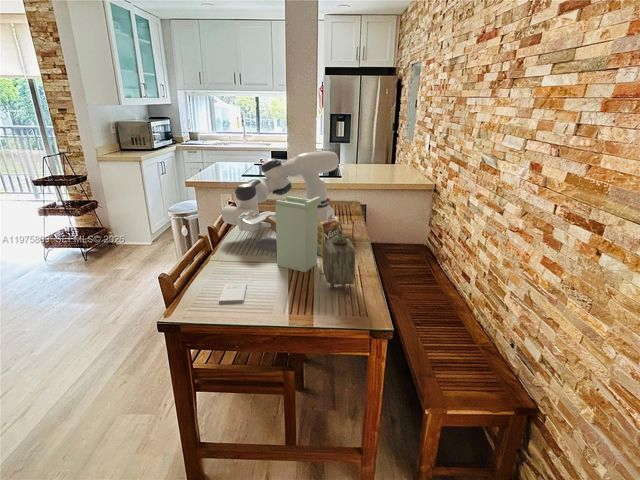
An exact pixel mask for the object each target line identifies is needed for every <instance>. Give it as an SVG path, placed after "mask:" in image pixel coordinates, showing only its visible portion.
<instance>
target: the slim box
mask: <svg viewBox="0 0 640 480" xmlns="http://www.w3.org/2000/svg"><path fill="white" fill-rule="evenodd" d="M264 222H265V223H269V222H270V223H272V225H273V226H272V227H268V228H269V229H270V230H272V231H273V232H274V233H276V217H275V216H273V215H272V214H271V215H269V216H267V217H266V219H265V221H264Z"/></svg>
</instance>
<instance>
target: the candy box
mask: <svg viewBox="0 0 640 480" xmlns="http://www.w3.org/2000/svg"><path fill="white" fill-rule="evenodd" d="M338 222H340V221H339V219H338V220H337V219H334V218H333V219H328V220H323V221H318V228H317V255H319V256H320V257H323V242H324V241H326V240H328V239H333V238H334V236H335V235H338V229H337V224H338Z"/></svg>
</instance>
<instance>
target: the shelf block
mask: <svg viewBox="0 0 640 480" xmlns="http://www.w3.org/2000/svg"><path fill="white" fill-rule="evenodd" d="M285 199H286V200H279V199H276V200H275V209H274V210H275V211H274V212H276V232H275V233H276V237H275V238H276V239H277V252H276V260H277V264H276V265H277V266H278V267H283V268H287V269H290V270H294V271H299V272H302V273H307V272H308V271H309V270H311V269H312V268H313V267H315V266H317V264H318V253H317V234H318V228H317V206H318V205H320V204H321V197H318V196H317V197H315V198H313V199H311V200H310V199H306V198H301V197H296V196H290V195H289V196H288V195H287V196H285Z"/></svg>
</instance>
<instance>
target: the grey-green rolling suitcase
mask: <svg viewBox="0 0 640 480" xmlns="http://www.w3.org/2000/svg"><path fill="white" fill-rule="evenodd" d="M339 228H340V229H339ZM337 229H338V235H335V236H334V238H333V239H328V240H326V241H324V242H323V256H322V270H323V271H322V272H323V274H324V279H325V280H326V282H327V283H328V284H329V288H330V289H333V288H335V286H337V285H342V286H343V288H344V289H345V294H346V295H349V294H350V292H351V291H350V290H349V289H348V288H347V285H353V284H354V283H355V271H356V252H355V247H354V244H353V243H352V241H351V240H350V238H348V237H346V236H344V235H343V226H342V223H341V222H340V221H339V222H338V224H337Z"/></svg>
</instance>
